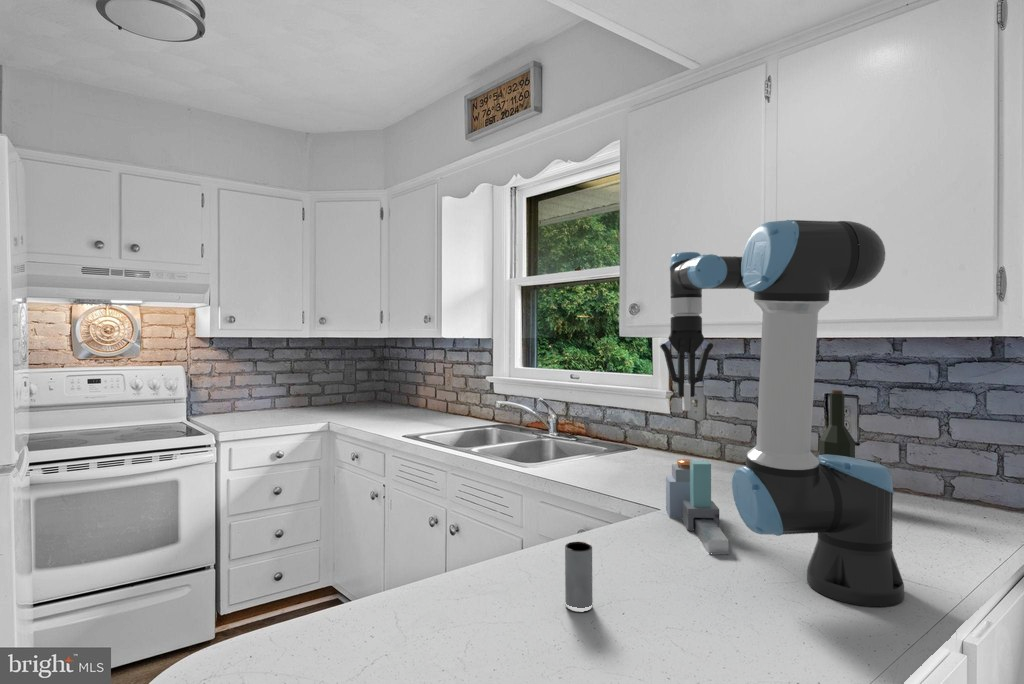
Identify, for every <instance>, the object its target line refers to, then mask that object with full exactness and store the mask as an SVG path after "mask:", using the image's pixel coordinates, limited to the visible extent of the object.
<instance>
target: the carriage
mask: <svg viewBox="0 0 1024 684" xmlns="http://www.w3.org/2000/svg"><path fill="white" fill-rule="evenodd" d="M682 515H683V518H682V523H683V525H684V526H685V528H686V529H687V531H694V530H693V518H712V519H713V520H714V522H715V523H716V524H717V526H718V527H719V528H720V508H719V507H718V506H717V505H716V503H714V501H713V500H712V463H710V462H709V461H708V460H702V459H701V460H700V459H699V460H697V459H696V460H695V459H690V500H682Z"/></svg>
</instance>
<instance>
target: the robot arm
mask: <svg viewBox="0 0 1024 684" xmlns="http://www.w3.org/2000/svg"><path fill="white" fill-rule="evenodd" d="M742 253H743V254H742V256H737V255H736V256H727V255H726V256H723V255H722V256H721V255H720V256H718V255H716V254H713V253H711V254H701V253H700V252H697V251H685V252H684V251H682V252H675V253H674V254H672V255H671V257H670V265H669V273H670V276H669V277H670V278H669V279H670V282H669V283H670V287H669V288H670V314H671V315H672V316H671V317H670V334H669V336H668V338H667V340H666V341H664V342H663V343H660V344H659V348H660V349H661V351H662V352H663V353H664V357H665V358H664V359H665V362H666V366H667V370H668V375H669V377H670V381H672V382H675V383H677V395H678V397H680V398H682V401H681V402H682V404H681V405H682V407H681V408H682V411H684V412H689V411H692V410H691V398H694V397H695V393H696V392H695V390H696V389H695V385H696V384H697V383H699V382H702V381H703V380H704V379H703V378H704V375H705V372H706V371H705V370H706V367H707V363H708V358H709V355H710V352H711V350H712V349H713V347H714V344H713V343H711V342H708V341H707V340H706V339H705V337H704V335H703V317H702V316H700V315H701V314H702V313H703V306H702V305H703V303H702V302H703V300H702V299H703V295H702V294H703V291H702V290H708V289H709V290H717V289H719V290H725V289H726V290H728V289H730V290H732V289H738V290H739V289H740V290H741V289H746V290H749V291H751V292H752V293H753V302H754V303H755V304H756V306H758V307H759V308H760V310H761V311H762V318H761V319H762V324H761V342H760V362H759V363H760V366H759V369H760V370H759V384H758V385H759V387H758V388H759V389H758V407H757V425H756V427H757V428H756V445H755V446H754V447H753V448H751V449H750V450H749V451H747V452H746V465H742V466H739V467H737V468H736V469H734V473H733V474H732V479H731V490H732V496H733V501H734V505H735V506H736V509H737V512H738V515H739V516H740V519H741V520H742V522H743V523H744V524H745V526H746V527H747V528H748V529H749V530H750V531H751V532H754V533H755V534H758V535H772V536H773V535H774V536H777V537H778V536H782V535H783V536H784V535H798V534H799V535H802V534H817V542H816V544H815V546H814V549H813V552H812V554H811V557H810V559H809V563H808V565H807V569H806V581H807V582H806V583H807V584H808V585H809V587H810V588H811V589H813V590H814V591H815V592H817V593H819V594H821V595H823V596H825V597H827V598H830V599H833V600H836V601H840V602H843V603H848V604H852V605H856V606H857V605H858V606H865V607H890V606H895V605H898V604H900V603H902V602H903V601H904V599H905V583H904V580H903V577H902V575H901V572H900V569H899V566H898V564H897V561H896V558H895V554H894V551H893V500H894V499H893V496H894V493H895V491H894V485H893V476H892V472H891V470H890V469H889V468H887V466H884V465H882V464H880V463H877V462H874V461H870V460H866V459H861V458H856V457H855V458H851V457H846V456H838V455H828V454H824V455H820V456H819V455H818V457H816V455H815V454H813V452H812V451H811V445H812V444H811V440H812V427H813V424H812V423H813V412H814V411H813V409H814V407H813V406H814V393H815V373H816V372H815V371H816V357H817V355H816V354H817V339H818V321H819V319H818V318H819V312H820V311H821V309H823V308H824V307H825V306H826V305H828V304H829V302H830V292H831V291H846V290H847V291H848V290H852V289H853V290H854V289H857V288H860V287H862V286H866V285H867V284H868V283H870V282H871V281H873V280H874V279H875V278H876V277H878V275H879V273H880V272H881V271H882V268H883V267H884V264H885V261H886V249H885V244H884V242H883V240H882V238H881V237H880V236H879V234H878V233H877V232H876V231H874V230H873V229H872V228H871V227H869V226H867V225H864V224H862V223H860V222H856V221H851V220H849V221H848V220H839V221H835V220H834V221H833V220H831V221H829V220H806V219H805V220H802V219H801V220H800V219H799V220H798V219H797V220H796V219H787V220H775V221H767V222H765V223H763V224H761V225H759V226H758V227H756V228H755V229H754V231H753V232H752V234H751V236H750V237H749V238H748V240H747V242H746V244H745V247H744V249H743V252H742ZM671 346H672V347H673V349H674V350H675V351H676V354H677V356H676V357H677V374H676V369H675V364H674V362H673V358H672V354H671V351H670V350H671V349H672V347H671ZM700 347H701V349H702V351H701V354H700V358H699V363H698V367H697V371H696V352H697V350H698V349H699V348H700ZM686 353H687V368H688V369H687V373H688V374H687V375H688V376H687V377H688V378H687V379H688V380H687V383H685V355H686Z"/></svg>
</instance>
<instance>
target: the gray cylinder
mask: <svg viewBox="0 0 1024 684" xmlns="http://www.w3.org/2000/svg"><path fill="white" fill-rule="evenodd" d="M564 565H565V566H564V577H565V578H564V586H565V589H564V590H565V594H564V595H565V602H566V604H567V605H569V606H572V607H577V608H585V607H589V606H591V605H592V606H593V604H592V603H594V602H593V600H594V598H593V546H592V544H590V543H588V542H584V541H571V542H568V543H566V544H565V546H564ZM565 602H564V603H565ZM566 604H565V605H566Z"/></svg>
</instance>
